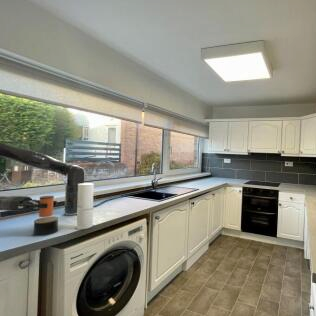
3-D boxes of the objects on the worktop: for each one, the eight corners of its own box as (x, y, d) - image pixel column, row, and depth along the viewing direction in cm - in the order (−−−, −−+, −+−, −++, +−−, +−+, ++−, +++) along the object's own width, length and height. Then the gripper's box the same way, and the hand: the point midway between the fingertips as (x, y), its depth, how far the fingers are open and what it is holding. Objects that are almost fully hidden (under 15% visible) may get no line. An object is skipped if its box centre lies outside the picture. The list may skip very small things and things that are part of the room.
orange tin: (50, 213, 107) (50, 195, 106) (55, 215, 104) (56, 196, 104) (36, 216, 102) (37, 196, 102) (41, 217, 99) (42, 198, 99)
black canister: (52, 227, 109) (52, 215, 109) (61, 231, 106) (61, 218, 106) (29, 233, 101) (30, 220, 101) (38, 237, 97) (39, 223, 97)
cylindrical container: (82, 224, 116) (83, 182, 116) (95, 224, 117) (96, 183, 116) (73, 229, 109) (74, 184, 109) (86, 229, 110) (88, 185, 109)
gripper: (1, 199, 94) (40, 200, 96) (30, 193, 109) (63, 194, 110) (1, 214, 94) (39, 215, 96) (29, 207, 109) (62, 207, 110)
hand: (51, 204), depth 103 cm, fingers closed on orange tin, 5 cm apart
